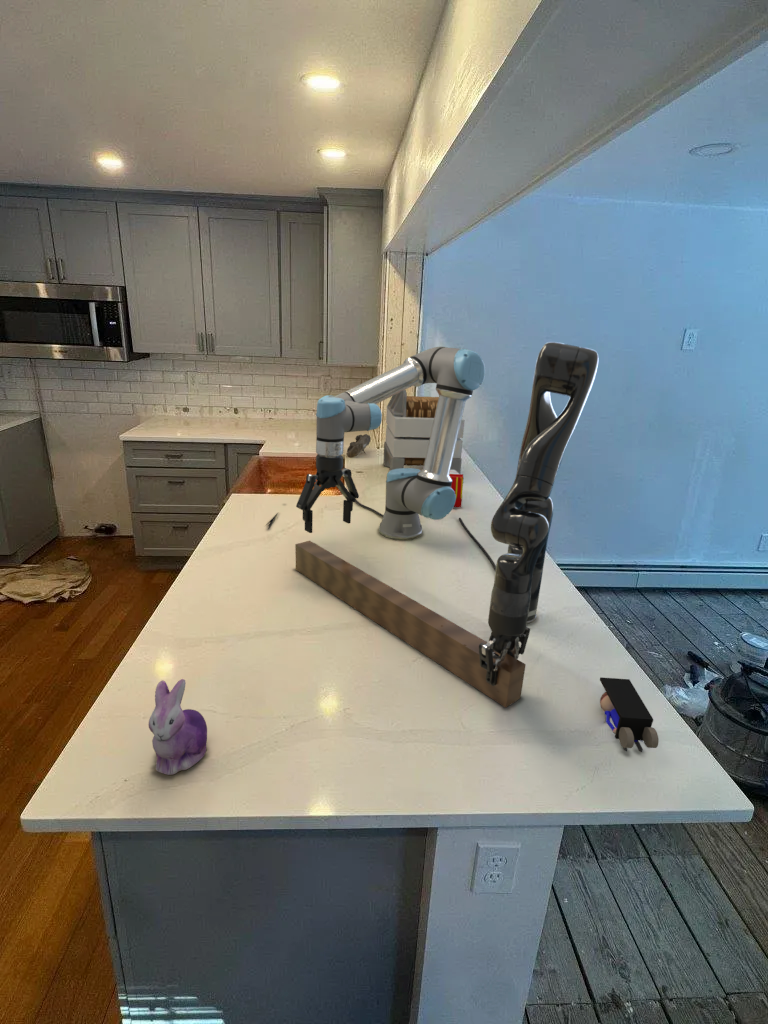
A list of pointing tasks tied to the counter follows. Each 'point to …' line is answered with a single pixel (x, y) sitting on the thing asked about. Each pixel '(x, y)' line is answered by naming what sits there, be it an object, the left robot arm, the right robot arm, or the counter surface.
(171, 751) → the figurine
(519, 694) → the beam
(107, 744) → the counter surface
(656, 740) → the figurine character
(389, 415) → the transformer
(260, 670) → the counter surface
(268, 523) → the feather
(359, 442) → the fossil
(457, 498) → the red striped box
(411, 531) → the left robot arm
